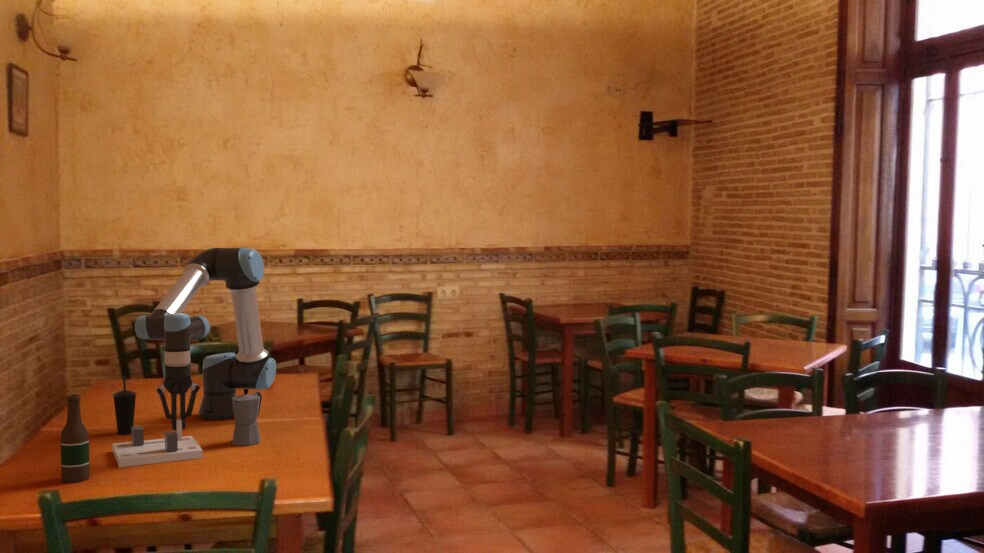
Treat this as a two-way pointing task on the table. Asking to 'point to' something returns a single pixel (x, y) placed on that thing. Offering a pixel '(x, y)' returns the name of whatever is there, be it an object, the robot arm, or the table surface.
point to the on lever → (137, 435)
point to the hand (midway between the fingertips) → (178, 439)
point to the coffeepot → (246, 418)
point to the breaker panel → (155, 452)
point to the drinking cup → (124, 409)
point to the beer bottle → (74, 445)
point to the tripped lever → (171, 441)
